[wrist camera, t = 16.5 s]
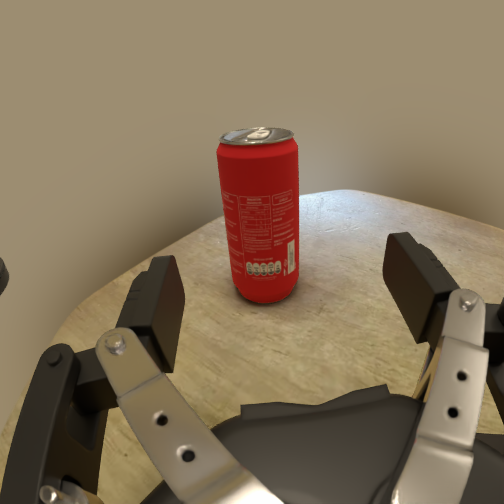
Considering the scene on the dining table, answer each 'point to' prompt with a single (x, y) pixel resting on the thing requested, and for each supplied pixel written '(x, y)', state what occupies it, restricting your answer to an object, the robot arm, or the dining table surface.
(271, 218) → the beverage can
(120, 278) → the dining table surface
